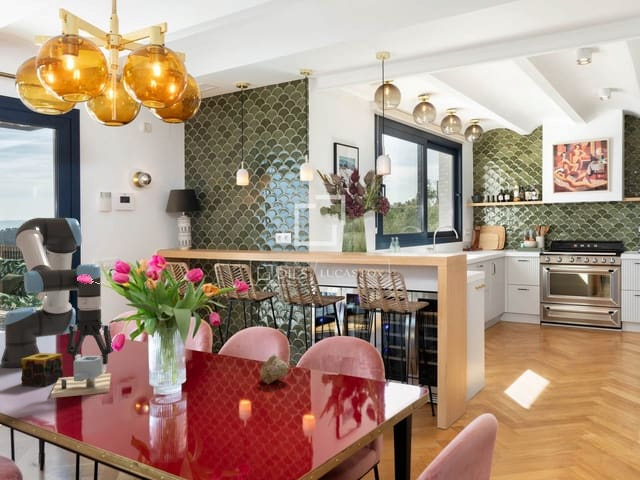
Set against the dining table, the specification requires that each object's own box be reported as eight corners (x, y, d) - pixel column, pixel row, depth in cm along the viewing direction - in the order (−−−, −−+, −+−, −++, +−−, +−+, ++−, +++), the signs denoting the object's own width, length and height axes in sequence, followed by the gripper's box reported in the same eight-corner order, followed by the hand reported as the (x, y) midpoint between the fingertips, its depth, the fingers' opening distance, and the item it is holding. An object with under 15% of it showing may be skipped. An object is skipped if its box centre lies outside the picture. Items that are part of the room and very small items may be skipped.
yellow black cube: (44, 387, 193) (44, 359, 193) (20, 386, 195) (19, 358, 195) (63, 379, 203) (63, 353, 203) (40, 378, 205) (39, 352, 205)
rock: (293, 382, 197) (292, 355, 196) (272, 388, 189) (271, 360, 189) (271, 376, 205) (270, 350, 205) (250, 382, 197) (249, 355, 197)
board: (58, 382, 199) (58, 378, 199) (110, 377, 205) (110, 373, 205) (51, 397, 180) (51, 393, 180) (108, 392, 186) (108, 387, 186)
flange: (84, 371, 192) (84, 356, 192) (106, 371, 192) (106, 355, 192) (66, 381, 179) (66, 364, 179) (90, 381, 179) (90, 364, 179)
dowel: (61, 388, 186) (61, 379, 186) (66, 387, 186) (66, 379, 186) (61, 389, 184) (61, 380, 184) (66, 388, 185) (66, 380, 185)
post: (86, 385, 189) (86, 367, 189) (95, 384, 190) (95, 366, 190) (85, 387, 186) (85, 369, 186) (95, 387, 187) (94, 368, 187)
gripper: (54, 310, 184) (55, 376, 184) (114, 309, 184) (115, 376, 184) (65, 307, 191) (66, 371, 192) (123, 306, 191) (124, 370, 191)
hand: (90, 373), depth 188 cm, fingers closed on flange, 8 cm apart
